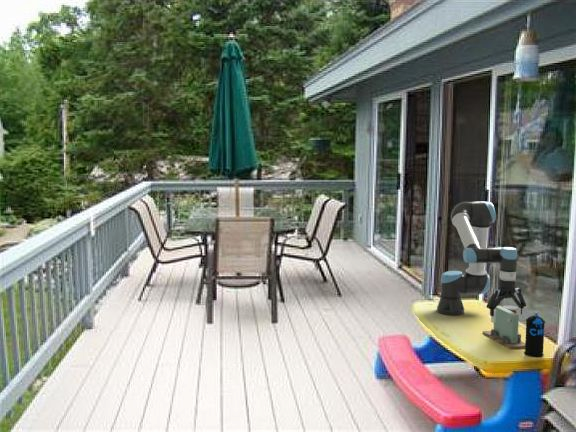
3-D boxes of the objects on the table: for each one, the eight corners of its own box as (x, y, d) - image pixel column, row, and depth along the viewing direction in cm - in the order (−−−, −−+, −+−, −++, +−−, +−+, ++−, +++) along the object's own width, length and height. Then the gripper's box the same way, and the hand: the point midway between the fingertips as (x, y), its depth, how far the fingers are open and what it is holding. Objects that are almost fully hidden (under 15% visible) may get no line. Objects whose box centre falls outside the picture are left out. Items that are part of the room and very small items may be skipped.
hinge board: (482, 333, 300) (483, 325, 299) (500, 332, 302) (500, 324, 301) (510, 349, 276) (510, 340, 276) (529, 347, 278) (529, 339, 278)
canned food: (518, 330, 305) (519, 309, 304) (502, 329, 307) (503, 308, 305) (516, 325, 312) (517, 305, 311) (500, 324, 314) (501, 304, 313)
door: (491, 333, 296) (492, 306, 294) (498, 332, 297) (499, 305, 295) (509, 343, 281) (510, 315, 279) (517, 343, 281) (518, 314, 280)
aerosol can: (521, 351, 274) (522, 309, 271) (537, 350, 274) (539, 309, 272) (529, 357, 266) (531, 314, 263) (547, 356, 266) (549, 314, 264)
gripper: (488, 282, 279) (486, 325, 282) (535, 279, 284) (532, 322, 287) (480, 278, 286) (478, 320, 289) (525, 276, 292) (523, 317, 294)
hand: (505, 321), depth 288 cm, fingers open, 13 cm apart
